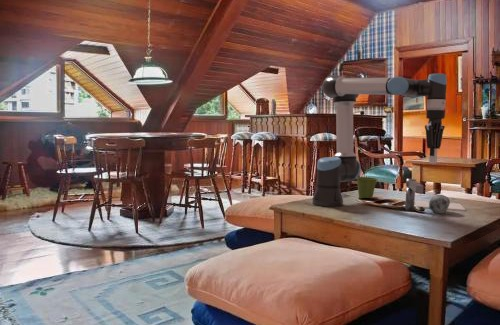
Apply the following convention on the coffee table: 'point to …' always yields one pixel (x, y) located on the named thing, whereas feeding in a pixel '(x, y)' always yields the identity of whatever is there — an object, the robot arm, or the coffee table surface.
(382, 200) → the coffee table surface
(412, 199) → the latch post
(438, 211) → the grey streaked egg shape
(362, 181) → the plant pot
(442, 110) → the robot arm
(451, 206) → the board
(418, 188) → the bar
